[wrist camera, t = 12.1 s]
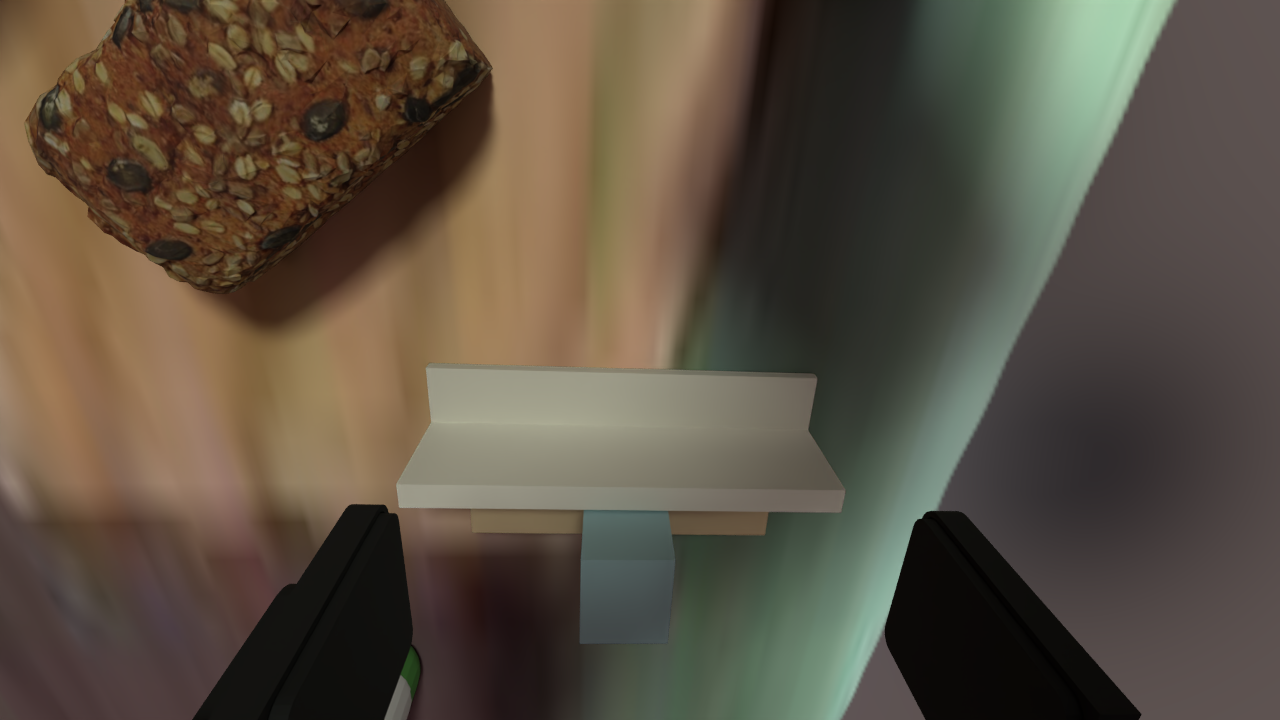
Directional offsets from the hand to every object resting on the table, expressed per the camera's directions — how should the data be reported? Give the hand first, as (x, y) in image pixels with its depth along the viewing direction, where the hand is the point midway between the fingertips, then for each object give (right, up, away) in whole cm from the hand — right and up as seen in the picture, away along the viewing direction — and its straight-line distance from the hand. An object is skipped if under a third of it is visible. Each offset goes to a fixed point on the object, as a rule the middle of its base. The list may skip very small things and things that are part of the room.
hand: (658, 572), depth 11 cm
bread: (-18, +18, +23) cm, 34 cm away
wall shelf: (-2, -2, +31) cm, 31 cm away
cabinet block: (-2, -6, +29) cm, 30 cm away
